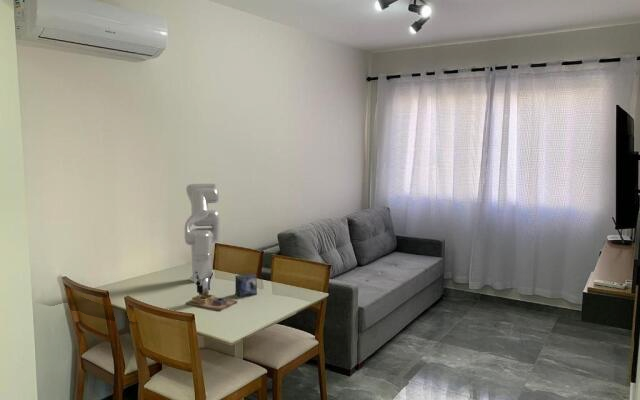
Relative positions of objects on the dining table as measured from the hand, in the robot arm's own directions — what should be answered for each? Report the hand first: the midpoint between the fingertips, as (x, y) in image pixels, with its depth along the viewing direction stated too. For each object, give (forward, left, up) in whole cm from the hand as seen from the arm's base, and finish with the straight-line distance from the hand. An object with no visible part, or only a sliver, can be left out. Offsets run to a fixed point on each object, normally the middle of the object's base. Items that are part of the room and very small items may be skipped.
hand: (203, 290), depth 251 cm
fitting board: (0, +5, -6) cm, 8 cm away
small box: (-21, +12, -6) cm, 25 cm away
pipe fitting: (0, 0, -1) cm, 1 cm away
